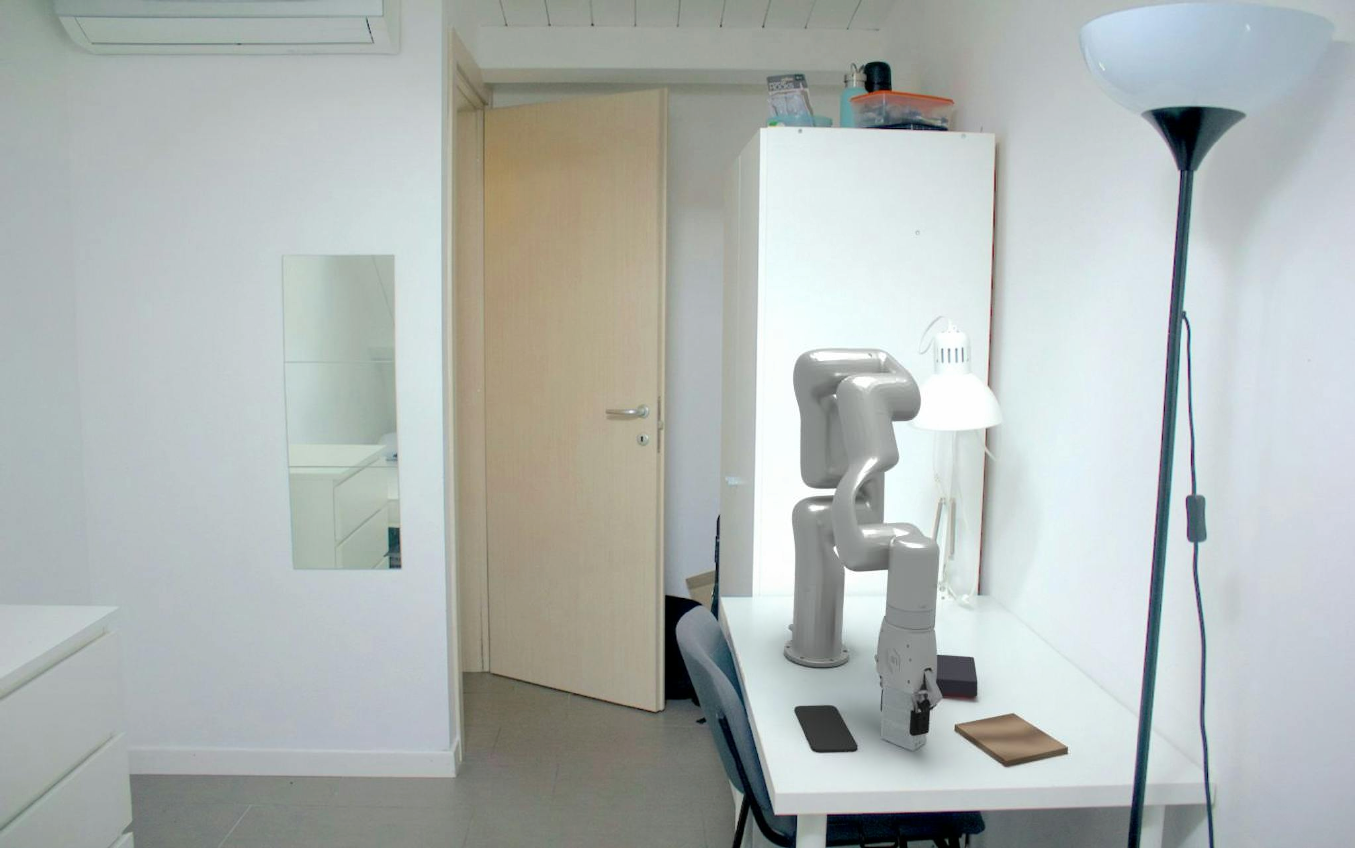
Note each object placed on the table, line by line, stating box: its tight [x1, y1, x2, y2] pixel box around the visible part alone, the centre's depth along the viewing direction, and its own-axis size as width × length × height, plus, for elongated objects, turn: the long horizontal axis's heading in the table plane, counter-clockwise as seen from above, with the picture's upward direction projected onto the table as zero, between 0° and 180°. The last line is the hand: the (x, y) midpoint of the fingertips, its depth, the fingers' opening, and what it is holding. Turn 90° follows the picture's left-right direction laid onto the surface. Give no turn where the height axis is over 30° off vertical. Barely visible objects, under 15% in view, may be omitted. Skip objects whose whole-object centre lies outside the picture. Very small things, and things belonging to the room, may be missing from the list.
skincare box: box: [880, 667, 927, 752], centre depth 142 cm, size 6×4×12 cm
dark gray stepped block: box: [936, 654, 978, 700], centre depth 163 cm, size 11×4×15 cm
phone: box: [793, 704, 859, 754], centre depth 147 cm, size 7×1×15 cm
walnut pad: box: [953, 712, 1069, 768], centre depth 143 cm, size 12×12×1 cm
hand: (904, 721), depth 143 cm, fingers closed on skincare box, 7 cm apart
